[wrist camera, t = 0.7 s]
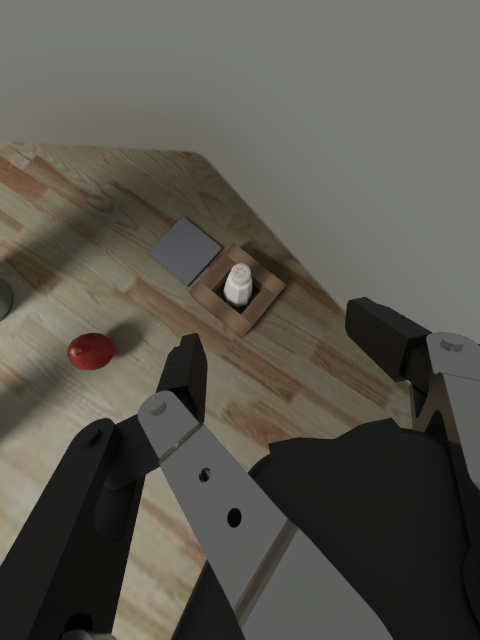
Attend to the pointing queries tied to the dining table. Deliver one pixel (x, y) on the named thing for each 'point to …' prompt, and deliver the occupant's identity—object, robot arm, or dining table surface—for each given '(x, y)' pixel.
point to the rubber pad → (185, 251)
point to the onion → (90, 351)
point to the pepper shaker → (238, 285)
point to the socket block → (219, 275)
